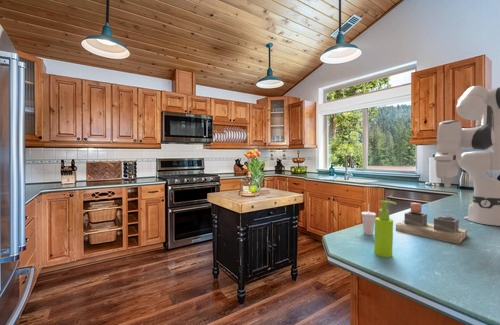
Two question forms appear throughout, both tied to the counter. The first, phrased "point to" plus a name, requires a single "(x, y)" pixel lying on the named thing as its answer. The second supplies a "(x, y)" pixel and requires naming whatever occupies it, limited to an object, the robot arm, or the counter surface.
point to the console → (432, 227)
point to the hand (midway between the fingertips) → (447, 186)
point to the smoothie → (368, 221)
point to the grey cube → (446, 218)
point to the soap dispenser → (384, 232)
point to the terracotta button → (416, 207)
